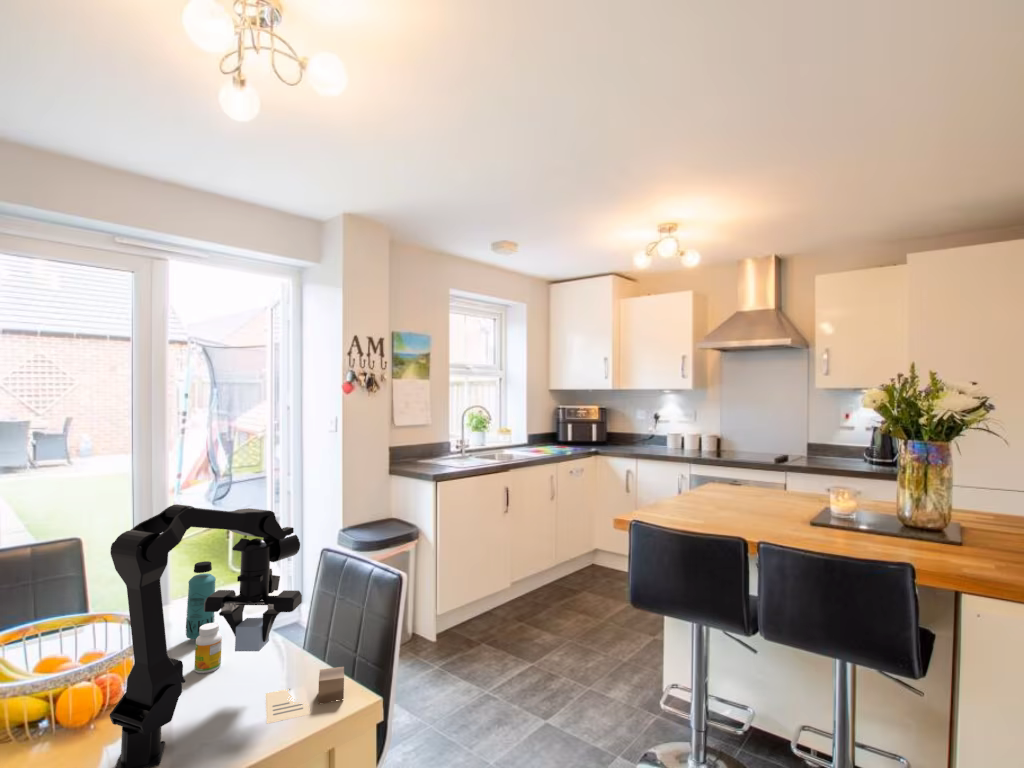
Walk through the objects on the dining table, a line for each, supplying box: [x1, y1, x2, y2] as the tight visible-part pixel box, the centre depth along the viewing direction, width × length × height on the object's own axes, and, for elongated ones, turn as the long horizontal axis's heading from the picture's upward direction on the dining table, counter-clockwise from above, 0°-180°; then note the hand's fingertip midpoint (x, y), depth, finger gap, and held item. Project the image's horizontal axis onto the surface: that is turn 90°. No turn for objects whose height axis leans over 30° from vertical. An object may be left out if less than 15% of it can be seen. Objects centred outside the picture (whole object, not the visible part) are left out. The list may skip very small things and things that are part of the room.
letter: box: [265, 688, 311, 724], centre depth 111 cm, size 12×8×1 cm, turn 26°
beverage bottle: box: [185, 560, 216, 640], centre depth 141 cm, size 6×7×20 cm
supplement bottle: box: [194, 622, 223, 674], centre depth 126 cm, size 5×5×10 cm
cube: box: [234, 617, 270, 652], centre depth 116 cm, size 5×5×5 cm
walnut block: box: [317, 666, 345, 705], centre depth 114 cm, size 5×5×5 cm
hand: (252, 641), depth 115 cm, fingers closed on cube, 5 cm apart
